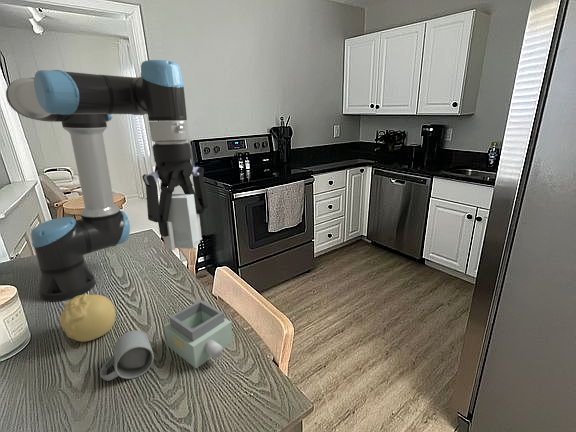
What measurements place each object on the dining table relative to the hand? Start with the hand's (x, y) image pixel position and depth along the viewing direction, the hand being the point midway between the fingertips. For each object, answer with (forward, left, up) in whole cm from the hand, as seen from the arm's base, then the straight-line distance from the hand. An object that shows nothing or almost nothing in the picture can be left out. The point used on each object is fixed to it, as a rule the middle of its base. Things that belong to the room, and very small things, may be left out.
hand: (184, 243), depth 72 cm
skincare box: (0, 0, -1) cm, 1 cm away
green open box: (+5, -1, -26) cm, 27 cm away
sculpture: (-23, -16, -26) cm, 38 cm away
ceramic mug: (-3, -16, -26) cm, 31 cm away
